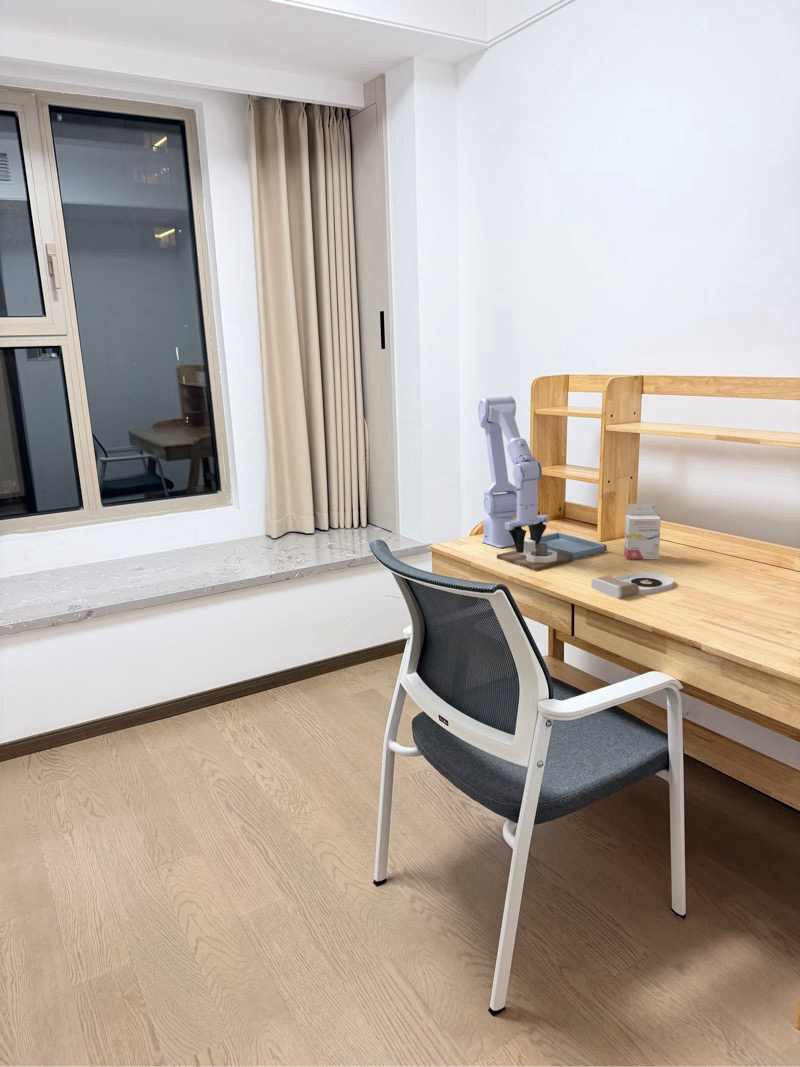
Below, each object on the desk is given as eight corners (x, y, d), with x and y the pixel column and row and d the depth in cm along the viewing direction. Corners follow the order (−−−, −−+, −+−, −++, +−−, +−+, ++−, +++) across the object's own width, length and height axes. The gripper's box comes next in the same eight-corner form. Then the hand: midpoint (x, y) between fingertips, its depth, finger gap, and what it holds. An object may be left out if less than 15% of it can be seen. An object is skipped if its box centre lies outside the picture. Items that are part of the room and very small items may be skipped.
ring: (511, 555, 212) (511, 541, 211) (533, 550, 216) (533, 536, 215) (540, 564, 201) (540, 550, 200) (563, 559, 206) (563, 545, 205)
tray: (525, 545, 224) (525, 539, 224) (557, 538, 231) (557, 532, 230) (573, 560, 208) (573, 553, 207) (606, 551, 214) (606, 545, 214)
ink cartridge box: (627, 560, 206) (629, 507, 202) (623, 555, 210) (625, 504, 207) (659, 559, 205) (661, 507, 201) (655, 554, 209) (657, 503, 206)
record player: (588, 576, 184) (648, 564, 193) (588, 588, 185) (647, 575, 194) (622, 589, 174) (684, 575, 183) (622, 601, 175) (683, 587, 184)
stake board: (496, 558, 213) (496, 541, 212) (534, 549, 220) (534, 533, 219) (534, 570, 200) (534, 552, 198) (573, 561, 206) (573, 543, 205)
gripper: (516, 509, 201) (516, 558, 205) (556, 502, 209) (556, 549, 212) (499, 505, 207) (500, 552, 211) (539, 498, 214) (539, 544, 218)
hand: (527, 550), depth 212 cm, fingers open, 5 cm apart
